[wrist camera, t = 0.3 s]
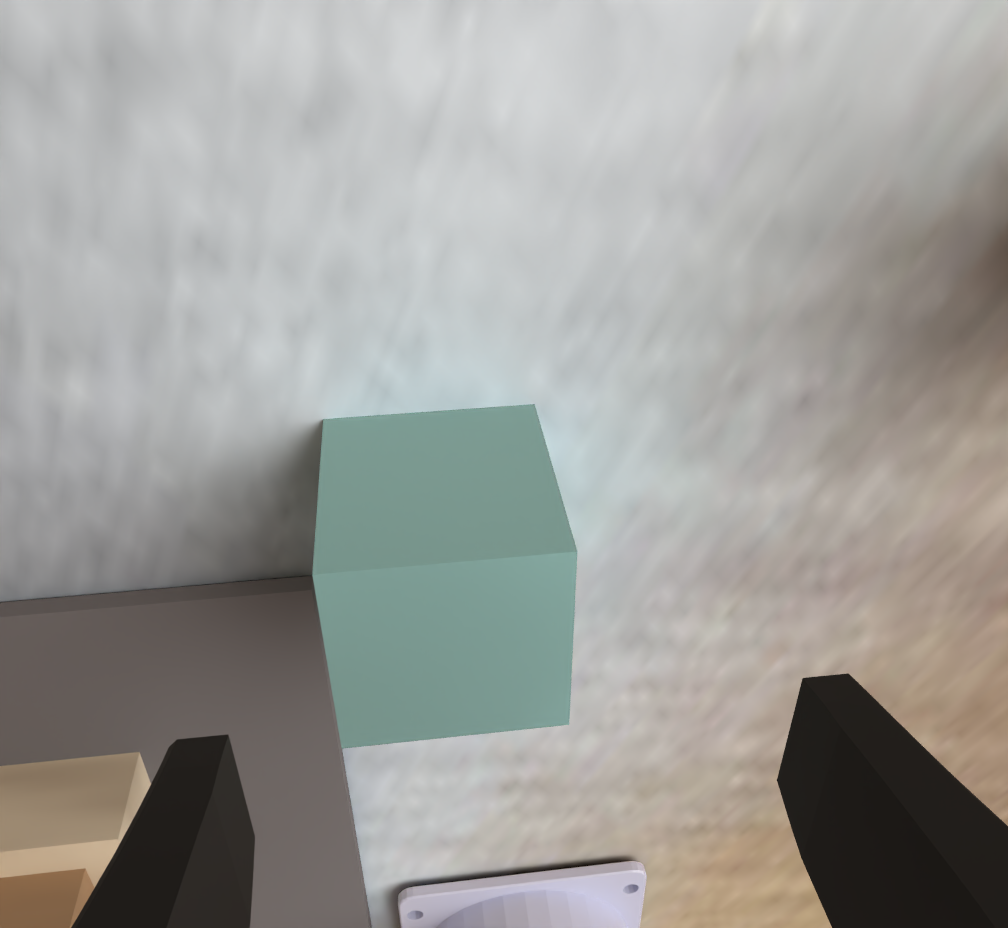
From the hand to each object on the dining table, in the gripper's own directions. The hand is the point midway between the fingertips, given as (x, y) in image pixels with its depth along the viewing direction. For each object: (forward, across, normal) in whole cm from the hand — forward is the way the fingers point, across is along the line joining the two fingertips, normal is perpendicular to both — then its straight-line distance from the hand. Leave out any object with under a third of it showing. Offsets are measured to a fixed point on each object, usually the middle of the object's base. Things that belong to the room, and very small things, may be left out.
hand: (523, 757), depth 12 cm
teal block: (+10, +1, +3) cm, 10 cm away
